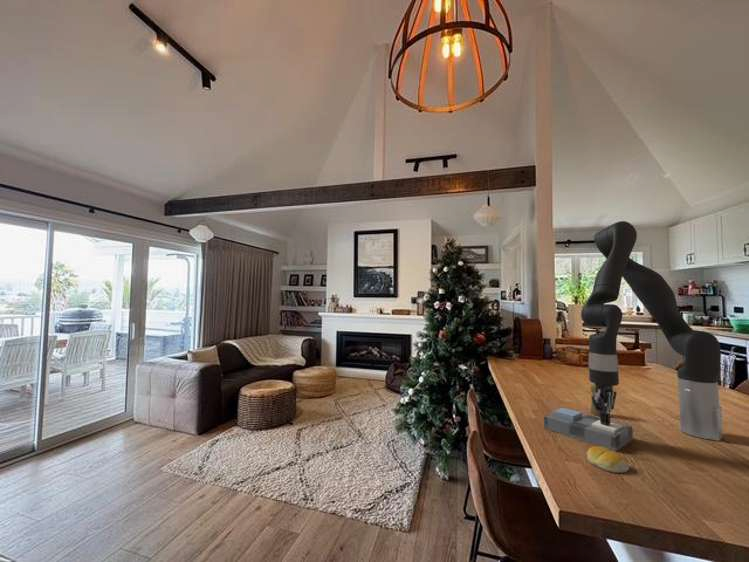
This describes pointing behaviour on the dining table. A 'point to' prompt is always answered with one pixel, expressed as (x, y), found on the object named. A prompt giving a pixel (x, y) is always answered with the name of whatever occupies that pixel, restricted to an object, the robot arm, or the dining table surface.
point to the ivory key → (611, 427)
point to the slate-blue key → (568, 414)
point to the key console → (589, 431)
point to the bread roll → (607, 459)
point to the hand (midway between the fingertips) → (605, 424)
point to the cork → (593, 409)
